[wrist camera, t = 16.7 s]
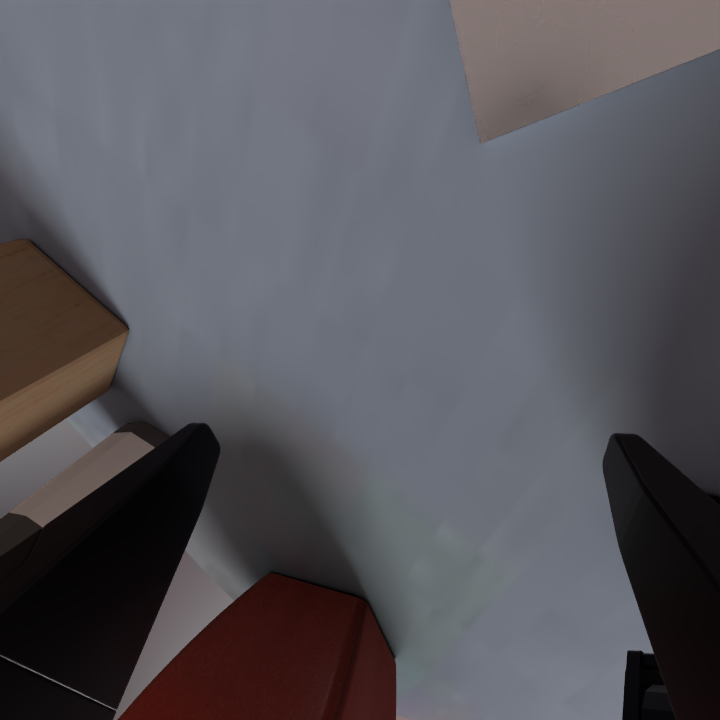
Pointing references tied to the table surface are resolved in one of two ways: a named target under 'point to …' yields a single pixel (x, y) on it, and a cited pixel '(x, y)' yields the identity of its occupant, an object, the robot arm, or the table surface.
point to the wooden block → (49, 345)
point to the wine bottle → (78, 481)
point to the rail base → (570, 51)
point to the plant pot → (279, 661)
